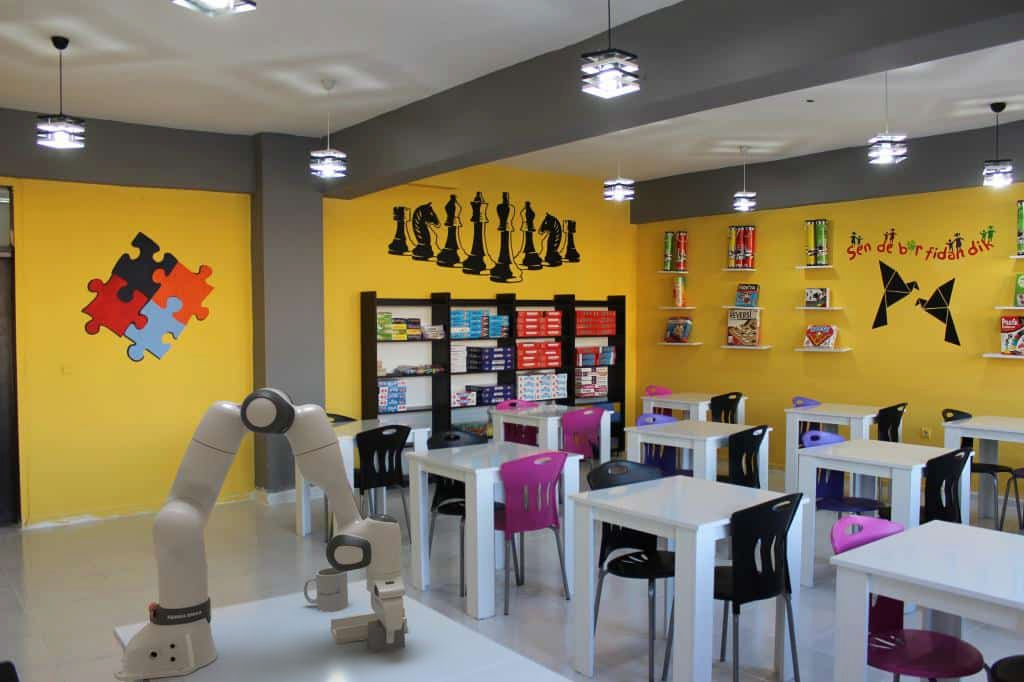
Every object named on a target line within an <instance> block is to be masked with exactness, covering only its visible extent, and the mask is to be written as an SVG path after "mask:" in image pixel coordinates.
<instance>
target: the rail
mask: <svg viewBox="0 0 1024 682" xmlns="http://www.w3.org/2000/svg"><path fill="white" fill-rule="evenodd" d="M405 610H406V608H405V607H404V606H403V622H404V631H405V634H407V633H409V632H408V618H407V616H406V611H405ZM376 620H378V618H377V615H376V613H375V612H374V611H373V612H364V613H360V614H352V615H345V616H340V617H331V618H330V633H331V635H332V636H334V637H333V639H334V640H336V641H335V644H336V645H338V644H345V643H350V642H356V641H357V640H358V641H362V640H368V622H370V621H376ZM358 641H357V642H358Z"/></svg>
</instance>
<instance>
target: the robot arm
mask: <svg viewBox="0 0 1024 682" xmlns="http://www.w3.org/2000/svg"><path fill="white" fill-rule="evenodd" d="M250 432H251V433H254V434H257V435H264V436H265V435H284V436H285V437H286V439H287V440H288V442H289V444H290V447H291V451H292V454H293V457H294V461H295V463H296V466H297V468H298V470H299V472H300V475H301V476H302V478H303V479H304V481H305V482H307V483H309V484H310V485H312V486H315V487H317V488H319V489H320V490H321V491H323V493H325V495H326V498H327V500H328V502H329V505H330V508H331V510H332V512H333V515H334V519H335V521H336V526H337V528H336V533H335V534H334V535H333V536H332V537H331V538H330V540H329V542H327V544H326V547H325V556H326V560H327V562H328V564H329V565H330V567H333V568H335V569H336V570H339V571H347V572H351V571H355V570H361V569H364V568H365V574H366V575H365V576H366V577H365V579H366V591H367V592H369V593H370V606H371V609H372V610H373V612H375V613H376V615H377V618H378V620H380V621H381V622H382V624H383V625H384V627H385V629H386V635H385V638H386V639H385V640H386V642H387V643H388V644H389V643H393V642H394V633H395V630H400V629H401V628H402V624H403V607H404V598H403V597H404V596H406V587H405V584H404V577H403V576H404V575H403V573H404V572H403V564H402V561H401V560H402V559H401V555H402V552H403V549H402V546H403V545H402V534H401V528H400V524H399V522H398V520H397V519H396V518H395V517H394V516H391V515H388V514H383V513H377V514H376V513H373V514H370V515H368V516H367V517H366V518H365V517H364V516H363V514H362V513H361V510H360V508H359V505H358V503H357V500H356V498H355V495H354V492H353V490H352V489H353V488H352V487H351V484H350V482H349V478H348V475H347V471H346V467H345V463H344V458H343V455H342V450H341V447H340V444H339V441H338V437H337V434H336V432H335V430H334V427H333V425H332V422H331V421H330V419H329V416H328V415H327V413H326V411H325V410H324V408H323V407H322V406H321V405H318V404H315V403H314V404H313V403H311V404H310V403H309V404H308V403H307V404H302V405H294V403H293V400H292V398H291V396H290V395H289V394H288V393H286V392H285V391H284V390H283V389H280V388H275V387H262V388H259V389H257V390H254V391H252V392H250V393H249V394H248V395H247V396H246V397H245V398H244V400H243V401H242V403H238V402H234V401H230V400H217V401H214V402H213V403H212V404H211V405H210V406H209V407H208V409H206V412H205V413H204V414H203V416H202V418H201V420H200V421H199V423H198V425H197V427H196V428H195V431H194V432H193V434H192V437H191V439H190V442H189V443H188V446H187V448H186V450H185V453H184V455H183V457H182V460H181V462H180V463H179V466H178V469H177V472H176V475H175V477H174V480H173V483H172V485H171V488H170V490H169V493H168V495H167V496H166V497H167V498H166V500H165V502H164V503H163V506H162V507H161V508H160V509H159V510H158V511H157V513H156V514H155V515H154V518H153V520H152V524H151V535H152V542H153V543H152V544H153V550H154V551H153V552H154V556H155V557H154V558H155V563H156V569H157V587H158V603H157V602H151V603H150V604H149V605H148V609H147V610H148V612H149V622H148V623H146V624H145V625H144V626H143V627H142V628H141V629H140V630H138V631H137V632H136V633H135V634H134V635H133V636H132V637H131V638H130V639H129V640H128V643H127V645H126V647H125V652H124V655H123V656H124V657H122V658H121V659H119V660H118V661H117V662H116V664H115V665H114V666H115V667H114V669H113V676H114V678H115V679H116V680H117V681H119V682H123V681H124V682H127V681H134V680H135V681H137V680H146V679H157V678H166V677H176V676H178V677H179V676H185V675H189V674H191V673H193V672H194V671H195V670H197V669H200V668H203V667H204V666H207V665H209V664H211V663H212V662H213V661H215V660H216V659H217V658H218V656H219V655H218V652H217V648H216V645H215V642H214V637H213V633H212V626H211V621H212V602H211V601H212V600H211V597H210V596H209V576H208V575H209V574H208V571H209V570H208V562H207V556H206V555H207V553H206V549H205V548H206V547H205V536H204V533H205V527H206V526H207V524H208V522H209V519H210V517H211V514H212V512H213V510H214V507H215V505H216V502H217V500H218V498H219V496H220V494H221V490H222V488H223V486H224V484H225V481H226V479H227V477H228V474H229V472H230V470H231V468H232V465H233V463H234V462H235V459H236V456H237V454H238V451H239V449H240V447H241V445H242V442H243V440H244V439H245V437H246V436H247V435H248V433H250Z"/></svg>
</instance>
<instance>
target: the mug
mask: <svg viewBox="0 0 1024 682" xmlns="http://www.w3.org/2000/svg"><path fill="white" fill-rule="evenodd" d="M315 575H316V576H311V577H308V578H307V579H306V580H305V583H304V585H303V596H304V598H305V600H306V601H307V603H310V604H316V607H317V608H316V609H317V610H318V611H320V610H321V612H327V613H328V612H337V611H341V610H344V609H346V608H348V607H349V596H348V595H349V592H348V590H349V589H348V588H349V587H348V571H339V570H336V569H335V568H333V567H332V566H330V567H326V568H322V569H319V570H317V571H316V572H315ZM312 581H314V582H316V583H315V584H316V598H314V599H313V598H310V597H309V594H308V585H309V583H310V582H312Z"/></svg>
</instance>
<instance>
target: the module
mask: <svg viewBox="0 0 1024 682" xmlns="http://www.w3.org/2000/svg"><path fill="white" fill-rule="evenodd" d="M405 634H406V633H405V631H404V622H403V624H402V628H401V629H400V630H395V633H394V642H393V643H389V644H388V643H387V642H386V640H385V639H386V638H385V635H386V629H385V627H384V625H383V624H382V622H381V621H380V620H376V621H370V622H368V639H367V641H368V642H367V643H368V648H369V649H370V651H371V653H373V654H374V653H379V652H384V651H390V650H391V651H392V650H396V649H397V650H398V649H401V648H402V649H403V648H406V636H405Z"/></svg>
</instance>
